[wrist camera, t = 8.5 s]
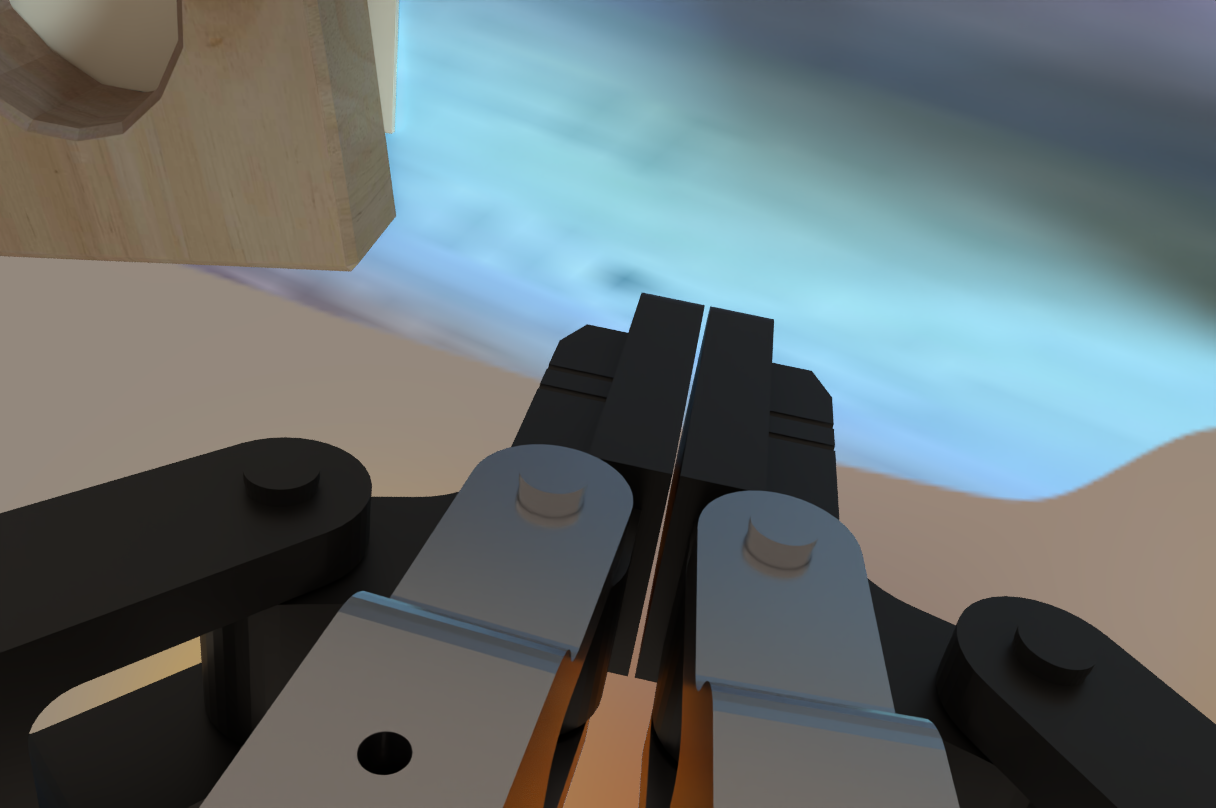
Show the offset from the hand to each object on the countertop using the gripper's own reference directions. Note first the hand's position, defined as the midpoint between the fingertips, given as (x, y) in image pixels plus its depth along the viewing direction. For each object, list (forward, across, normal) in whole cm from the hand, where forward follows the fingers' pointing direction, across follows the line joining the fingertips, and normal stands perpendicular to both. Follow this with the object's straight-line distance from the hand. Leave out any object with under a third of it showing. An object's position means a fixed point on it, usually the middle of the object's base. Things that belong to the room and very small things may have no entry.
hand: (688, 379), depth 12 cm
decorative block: (+27, +14, +6) cm, 31 cm away
